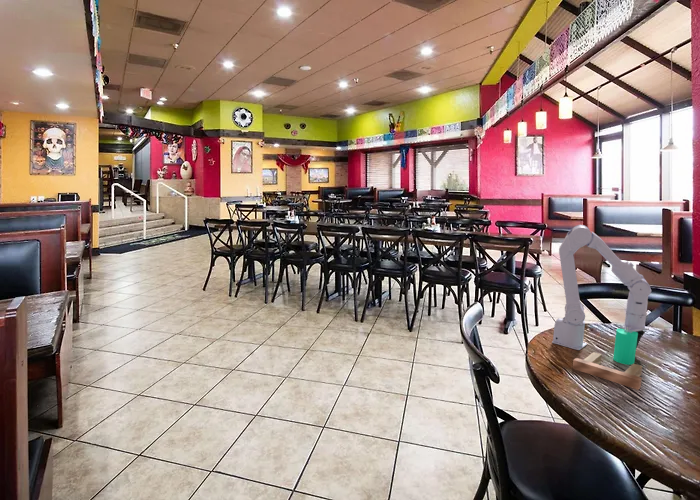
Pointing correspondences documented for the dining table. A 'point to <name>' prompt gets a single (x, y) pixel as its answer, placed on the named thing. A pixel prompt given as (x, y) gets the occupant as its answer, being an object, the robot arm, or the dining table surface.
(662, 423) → the dining table surface
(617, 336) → the candle
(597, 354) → the stand
